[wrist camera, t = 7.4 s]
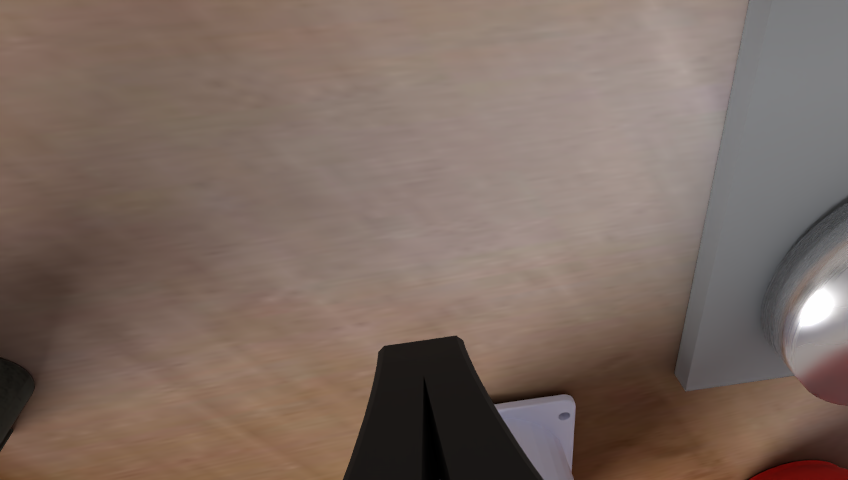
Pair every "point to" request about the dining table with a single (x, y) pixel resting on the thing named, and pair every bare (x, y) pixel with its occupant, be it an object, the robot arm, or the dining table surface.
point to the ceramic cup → (804, 471)
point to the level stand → (767, 183)
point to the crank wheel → (813, 309)
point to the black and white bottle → (12, 396)
